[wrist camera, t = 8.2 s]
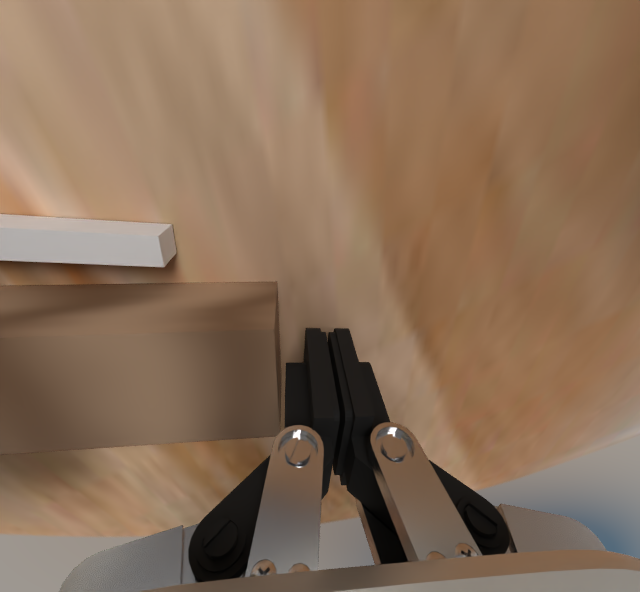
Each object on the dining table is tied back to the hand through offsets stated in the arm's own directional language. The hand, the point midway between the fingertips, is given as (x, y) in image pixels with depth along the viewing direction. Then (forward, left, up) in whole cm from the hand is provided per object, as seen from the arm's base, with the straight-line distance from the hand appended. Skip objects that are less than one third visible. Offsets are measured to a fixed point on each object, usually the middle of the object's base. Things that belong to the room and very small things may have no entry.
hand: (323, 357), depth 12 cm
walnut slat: (+10, 0, -1) cm, 10 cm away
